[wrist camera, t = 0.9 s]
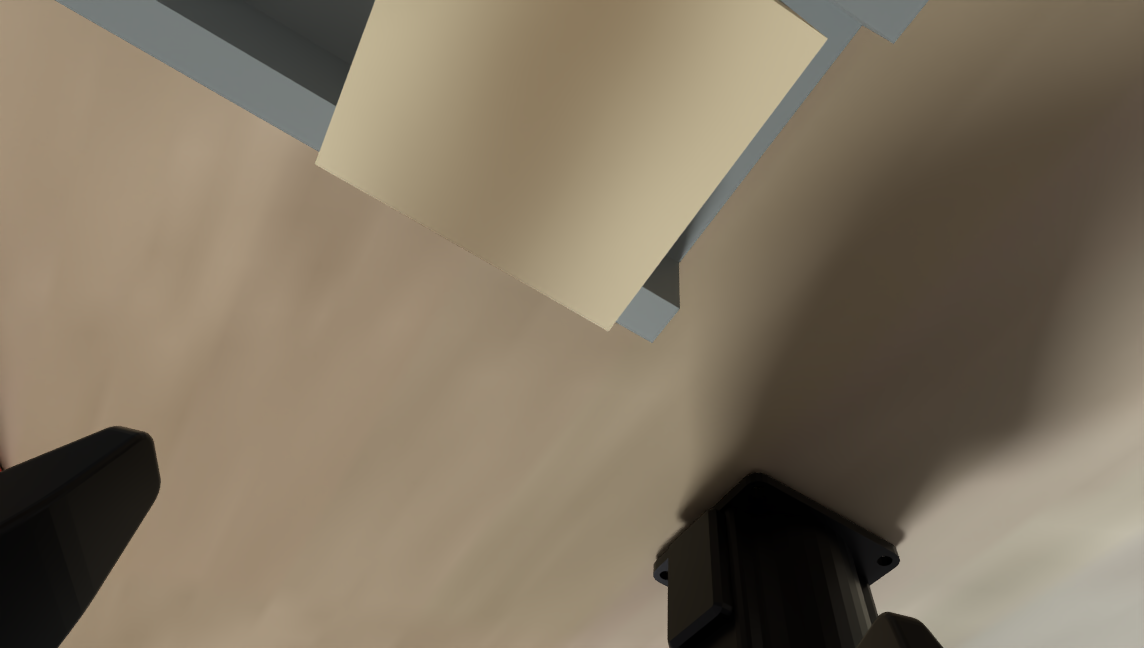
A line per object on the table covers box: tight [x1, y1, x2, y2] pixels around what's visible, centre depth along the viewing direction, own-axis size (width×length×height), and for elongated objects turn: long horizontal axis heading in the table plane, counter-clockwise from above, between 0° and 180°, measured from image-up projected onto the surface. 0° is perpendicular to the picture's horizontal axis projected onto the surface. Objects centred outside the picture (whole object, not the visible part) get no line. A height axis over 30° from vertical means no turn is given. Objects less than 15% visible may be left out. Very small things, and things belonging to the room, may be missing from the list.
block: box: [315, 0, 828, 331], centre depth 13 cm, size 6×6×6 cm
